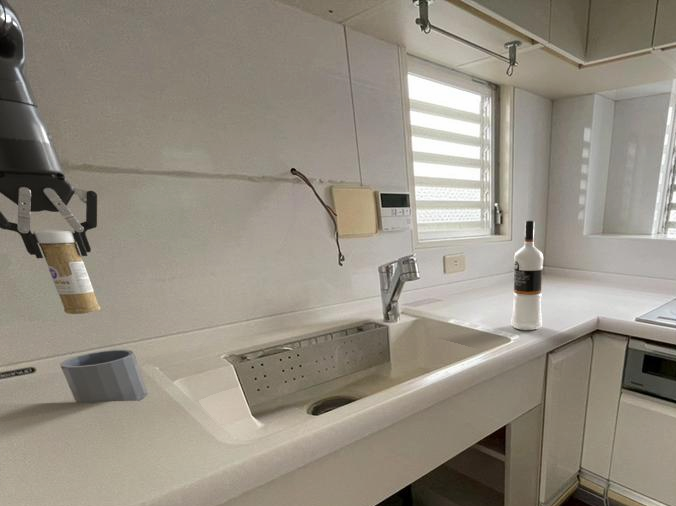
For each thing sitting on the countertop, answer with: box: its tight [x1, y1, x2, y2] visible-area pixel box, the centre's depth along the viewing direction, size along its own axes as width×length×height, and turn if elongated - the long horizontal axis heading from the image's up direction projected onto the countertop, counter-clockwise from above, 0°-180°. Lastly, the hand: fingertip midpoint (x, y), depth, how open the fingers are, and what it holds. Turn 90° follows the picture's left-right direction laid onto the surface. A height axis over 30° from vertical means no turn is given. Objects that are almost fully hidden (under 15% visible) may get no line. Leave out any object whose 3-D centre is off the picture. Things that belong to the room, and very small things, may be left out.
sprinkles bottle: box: [32, 229, 101, 315], centre depth 68 cm, size 5×5×14 cm
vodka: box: [510, 220, 544, 331], centre depth 116 cm, size 9×9×30 cm
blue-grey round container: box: [59, 349, 148, 404], centre depth 70 cm, size 9×9×8 cm
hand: (62, 256), depth 67 cm, fingers closed on sprinkles bottle, 4 cm apart
